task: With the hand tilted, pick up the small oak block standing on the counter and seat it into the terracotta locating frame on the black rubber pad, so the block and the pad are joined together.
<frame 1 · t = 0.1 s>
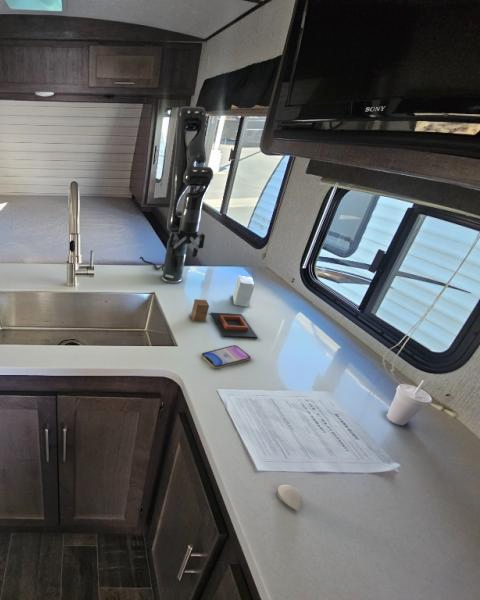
hand: (183, 256, 138), 17 cm above the worktop, tool pointing down, fingers open, 8 cm apart
smartphone: (225, 358, 106), on the worktop
cream seashell: (288, 501, 66), on the worktop
smoothie: (395, 420, 84), on the worktop
oak block: (198, 318, 127), on the worktop
dock pad: (232, 325, 123), on the worktop
small box: (239, 302, 140), on the worktop
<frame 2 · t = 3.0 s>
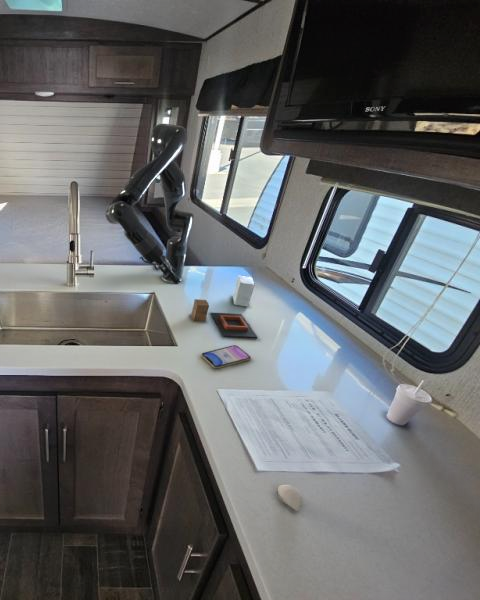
hand: (175, 277, 119), 17 cm above the worktop, tool tilted 45°, fingers open, 8 cm apart
nothing on the worktop moved.
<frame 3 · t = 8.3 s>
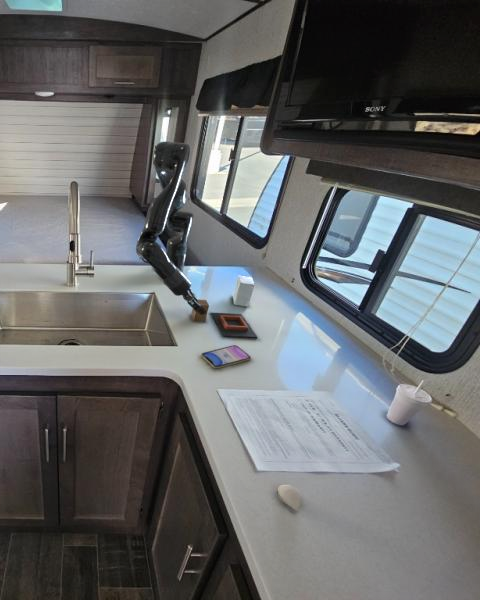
hand: (201, 309, 125), 4 cm above the worktop, tool tilted 45°, fingers closed on oak block, 4 cm apart
oak block: (198, 318, 127), on the worktop, touching gripper
everything else where it was.
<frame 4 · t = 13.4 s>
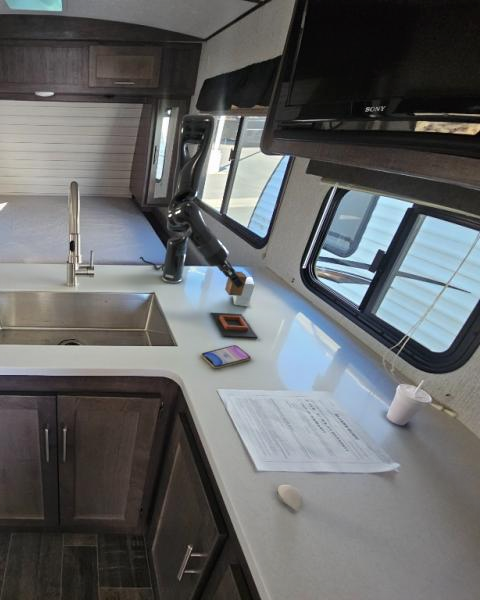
hand: (237, 282, 115), 18 cm above the worktop, tool tilted 45°, fingers closed on oak block, 4 cm apart
oak block: (232, 292, 117), point 14 cm above the worktop, touching gripper
everything else where it was.
when the fingers open (5 cm above the worktop, at t = 18.7 s): oak block stays where it is, resting on dock pad.
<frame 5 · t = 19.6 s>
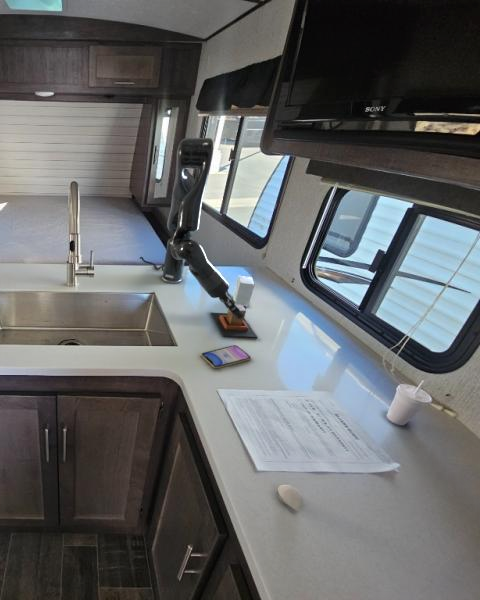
hand: (237, 311, 119), 7 cm above the worktop, tool tilted 45°, fingers open, 8 cm apart
oak block: (232, 324, 122), point 1 cm above the worktop, touching dock pad
everything else where it was.
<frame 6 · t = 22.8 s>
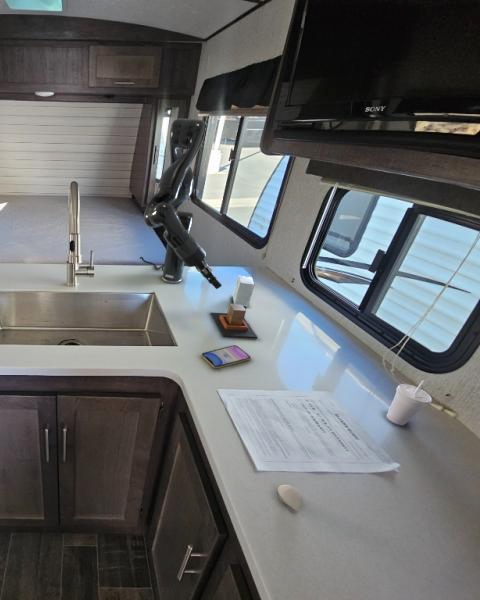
hand: (215, 281, 114), 18 cm above the worktop, tool tilted 45°, fingers open, 8 cm apart
nothing on the worktop moved.
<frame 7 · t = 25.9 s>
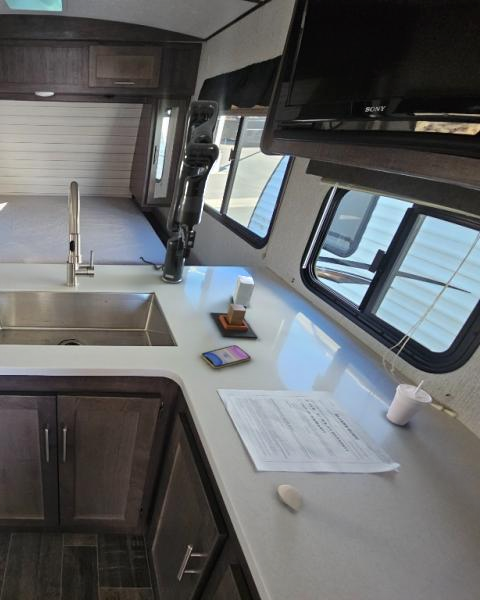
hand: (182, 253, 116), 26 cm above the worktop, tool pointing down, fingers open, 8 cm apart
nothing on the worktop moved.
at the end: oak block 0.1 cm off-centre on the dock pad, point 0.8 cm above the dock pad's base; oak block tilted 0°; the gripper is holding nothing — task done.
